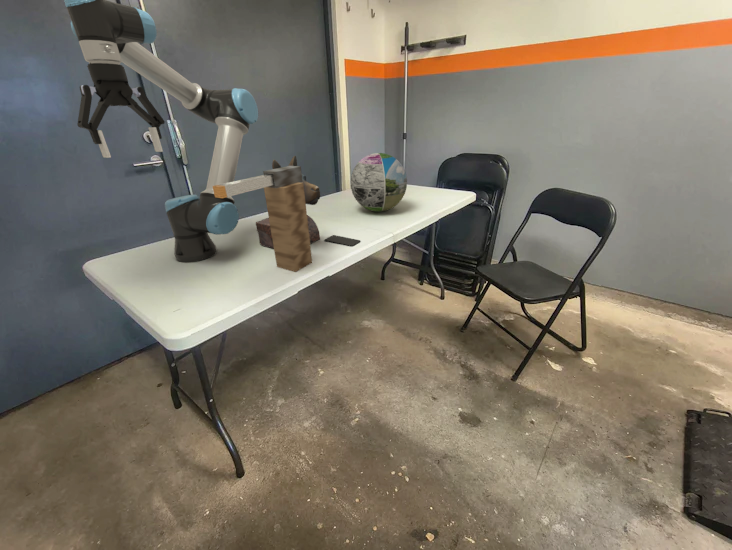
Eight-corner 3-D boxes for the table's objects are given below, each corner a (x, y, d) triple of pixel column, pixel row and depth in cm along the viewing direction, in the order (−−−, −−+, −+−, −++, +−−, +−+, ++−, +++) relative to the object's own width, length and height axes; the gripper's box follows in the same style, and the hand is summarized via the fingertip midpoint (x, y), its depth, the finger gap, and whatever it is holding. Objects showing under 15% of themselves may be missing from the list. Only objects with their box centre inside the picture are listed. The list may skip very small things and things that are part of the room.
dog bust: (309, 259, 124) (297, 162, 109) (259, 245, 138) (242, 158, 122) (338, 243, 138) (332, 155, 122) (290, 232, 152) (279, 153, 136)
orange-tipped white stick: (222, 198, 87) (219, 186, 86) (215, 197, 89) (212, 186, 87) (283, 182, 105) (282, 172, 103) (276, 181, 106) (275, 172, 105)
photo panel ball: (397, 220, 164) (398, 157, 150) (343, 216, 174) (339, 156, 160) (412, 205, 189) (414, 150, 175) (363, 202, 199) (361, 149, 185)
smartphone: (352, 246, 134) (323, 239, 141) (352, 248, 134) (323, 241, 141) (361, 240, 139) (333, 234, 146) (361, 242, 140) (333, 236, 147)
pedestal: (293, 273, 114) (279, 172, 98) (275, 267, 118) (258, 170, 103) (315, 260, 123) (305, 166, 107) (297, 256, 127) (285, 165, 112)
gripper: (47, 56, 70) (88, 161, 79) (163, 66, 89) (185, 149, 98) (34, 60, 74) (75, 159, 83) (148, 69, 92) (170, 149, 102)
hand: (134, 154), depth 91 cm, fingers open, 13 cm apart
